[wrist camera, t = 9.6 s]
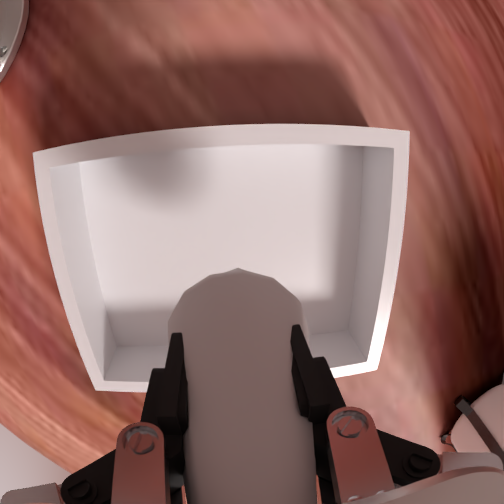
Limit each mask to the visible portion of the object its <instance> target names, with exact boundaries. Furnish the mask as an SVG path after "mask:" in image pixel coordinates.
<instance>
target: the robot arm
mask: <svg viewBox="0 0 504 504" xmlns="http://www.w3.org/2000/svg"><path fill="white" fill-rule="evenodd" d="M28 14H29V0H0V82H1V80H2V79H3V77H4V76H5V74H6V73H7V71H8V69H9V67H10V65H11V63H12V62H13V60H14V58H15V56H16V53H17V51H18V49H19V46H20V44H21V41H22V38H23V35H24V32H25V29H26V24H27V19H28ZM290 343H291V347H292V352H293V359H292V369H291V372H292V377H293V382H294V387H295V392H296V396H297V401H298V406H299V411H300V415H301V416H303V417H307V418H308V421H309V422H312V426H313V440H314V455H315V458H316V489H317V496H318V504H504V471H503V464H502V461H501V459H500V458H499V457H498V456H497V455H495V454H494V453H489V452H443V453H442V454H441V455H439V454H436V453H435V452H434V451H433V450H432V449H429V448H427V447H425V446H422V445H419V444H416V443H413V442H410V441H407V440H404V439H402V438H399V437H396V436H393V435H391V434H388V433H385V432H383V431H380V430H378V429H376V427H375V424H374V421H373V419H372V417H371V415H369V414H368V413H367V412H366V411H364V410H362V409H360V408H356V407H346V405H345V402H344V400H343V398H342V395H341V393H340V391H339V388H338V386H337V384H336V381H335V379H334V377H333V374H332V372H331V370H330V367H329V365H328V363H327V361H326V359H325V357H324V356H322V357H314V358H313V357H312V355H311V352H310V349H309V347H308V344H307V342H306V339H305V337H304V334H303V331H302V329H301V326H300V325H299V324H295V325H293V326H292V331H291V340H290ZM187 429H188V381H187V378H186V371H185V363H184V345H183V336H182V333H181V332H177V333H172V334H171V339H170V344H169V349H168V354H167V359H166V364H165V368H153V369H152V371H151V375H150V380H149V384H148V389H147V393H146V398H145V402H144V407H143V412H142V416H141V421H140V422H138V423H133V424H130V425H128V426H126V427H125V428H124V429H122V431H121V432H120V433H119V435H118V438H117V444H116V449H115V450H113V451H111V452H110V453H108V454H106V455H105V456H103V457H101V458H100V459H98V460H96V461H94V462H93V463H91V464H89V465H88V466H86V467H84V468H82V469H80V470H79V471H77V472H75V473H73V474H71V475H70V476H68V477H67V478H66V479H65V480H64V482H63V483H62V484H60V485H57V484H56V483H51V484H46V485H40V486H35V487H30V488H23V489H17V490H11V491H9V492H6V493H5V494H4V495H3V497H2V499H1V503H0V504H186V500H185V489H184V481H183V471H184V466H185V459H184V452H183V434H184V433H185V432H186V431H187Z"/></svg>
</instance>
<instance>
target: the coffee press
mask: <svg viewBox="0 0 504 504" xmlns="http://www.w3.org/2000/svg"><path fill="white" fill-rule="evenodd" d="M454 404H455V405H456V407H457V408H458V409H459V410H460V411H461V412H462V413H463V414H462V415H461V416H460V418H459V419H458V420H457V422H456V424H455V425H454V427H453V430H452V433H451V434H445V435H443V436H442V438H441V442H442V443H443V444H448V443H446V442H445V439H446V437H447V436H449V435H451V441H452V443H453V444H448V445H451V446H452V447H453V448H454V449H455V451H456V452H489V453H494V454H495V455H497V456H498V457H499V458H500V459H501V461H502V464H503V471H504V372H503V377H502V382H501V384H500V385H498V386H495V387H493V388H492V389H490V390H488V391H487V392H485V393H484V394H483V395H481V396H480V397H479V398H478V399H477V400H476V401H474V402H473V403H470V402H469V401H468V400H467V399H466V398H465V397H464V396H462V395H461V396H460V397H459V398H458V399H457V400H456V401H455V402H454Z"/></svg>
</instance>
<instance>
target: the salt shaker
mask: <svg viewBox="0 0 504 504" xmlns="http://www.w3.org/2000/svg"><path fill="white" fill-rule="evenodd" d="M295 324H299V325H300V326H301V329H302V331H303V334H304V337H305V339H306V342H307V344H308V347H309V349H310V342H309V330H308V324H307V321H306V318H305V315H304V312H303V309H302V305H301V302H300V301H299V300H298V299H297V297H296V296H294V295H293V294H292V293H291V292H290V291H289V290H287V289H286V288H285V287H284V286H283V285H281V284H280V283H279V282H278V281H277V280H275V279H274V278H272V277H268V276H265V275H261V274H257V273H254V272H250V271H246V270H243V269H240V268H235V269H233V270H230V271H227V272H224V273H218V274H211V275H209V276H207V277H206V278H204V279H203V280H201V281H199V282H198V283H196V284H195V285H193V286H192V287H190V288H189V289H187V290H186V291H184V293H183V294H182V296H181V298H180V300H179V301H178V303H177V305H176V307H175V309H174V310H173V312H172V314H171V316H170V318H169V320H168V343H169V344H170V339H171V334H172V333H177V332H181V333H182V336H183V345H184V363H185V371H186V378H187V381H188V429H187V431H186V432H185V433H184V434H183V452H184V459H185V466H184V471H183V481H184V487H185V493H186V499H187V504H317V489H316V458H315V455H314V440H313V426H312V422H309V421H308V418H307V417H303V416H301V415H300V411H299V406H298V401H297V396H296V392H295V387H294V382H293V377H292V372H291V369H292V359H293V352H292V347H291V343H290V340H291V331H292V326H293V325H295Z"/></svg>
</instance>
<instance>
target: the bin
mask: <svg viewBox="0 0 504 504" xmlns="http://www.w3.org/2000/svg"><path fill="white" fill-rule="evenodd" d="M409 133H410V131H403V130H394V129H384V128H373V127H359V126H343V125H321V124H244V125H221V126H205V127H191V128H180V129H169V130H160V131H151V132H143V133H135V134H128V135H121V136H114V137H108V138H102V139H96V140H90V141H85V142H79V143H74V144H69V145H64V146H59V147H55V148H50V149H46V150H41V151H37V152H33V159H34V169H35V177H36V184H37V191H38V198H39V204H40V210H41V216H42V221H43V226H44V231H45V236H46V241H47V245H48V250H49V254H50V258H51V262H52V266H53V270H54V274H55V278H56V281H57V285H58V288H59V292H60V295H61V299H62V302H63V305H64V308H65V312H66V315H67V318H68V321H69V324H70V327H71V330H72V332H73V335H74V338H75V341H76V343H77V346H78V349H79V351H80V354H81V357H82V359H83V362H84V364H85V367H86V369H87V371H88V374H89V376H90V379H91V381H92V383H93V385H94V388H95V390H101V391H121V392H147V389H148V384H149V380H150V375H151V371H152V369H153V368H165V364H166V359H167V354H168V349H169V343H168V320H169V318H170V316H171V314H172V312H173V310H174V309H175V307H176V305H177V303H178V301H179V300H180V298H181V296H182V294H183V293H184V291H186V290H187V289H189V288H190V287H192V286H193V285H195V284H196V283H198V282H199V281H201V280H203V279H204V278H206V277H207V276H209V275H211V274H218V273H224V272H227V271H230V270H233V269H235V268H240V269H243V270H246V271H250V272H254V273H257V274H261V275H265V276H268V277H272V278H274V279H275V280H277V281H278V282H279V283H280V284H281V285H283V286H284V287H285V288H286V289H287V290H289V291H290V292H291V293H292V294H293V295H294V296H296V297H297V299H298V300H299V301H300V302H301V305H302V309H303V312H304V315H305V318H306V321H307V324H308V330H309V342H310V352H311V355H312V357H313V358H314V357H322V356H324V357H325V359H326V361H327V363H328V365H329V367H330V370H331V372H332V374H333V377H334V378H336V377H342V376H348V375H353V374H359V373H364V372H369V371H374V370H377V368H378V364H379V360H380V356H381V352H382V348H383V343H384V339H385V335H386V330H387V326H388V321H389V316H390V311H391V306H392V301H393V296H394V290H395V284H396V278H397V272H398V266H399V259H400V252H401V245H402V237H403V228H404V219H405V209H406V197H407V184H408V166H409Z"/></svg>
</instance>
